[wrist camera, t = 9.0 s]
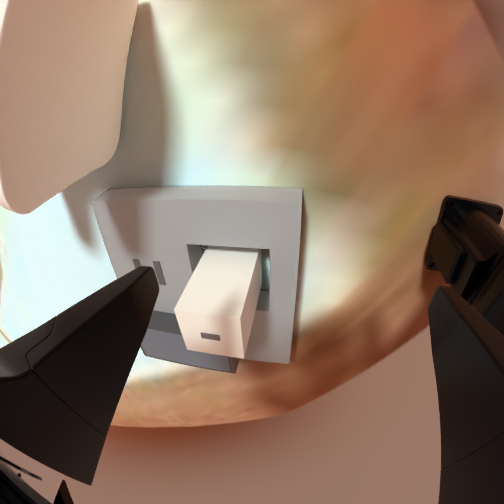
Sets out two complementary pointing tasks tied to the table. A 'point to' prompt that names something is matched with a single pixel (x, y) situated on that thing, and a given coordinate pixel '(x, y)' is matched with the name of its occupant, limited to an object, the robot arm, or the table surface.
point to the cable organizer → (59, 93)
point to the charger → (221, 301)
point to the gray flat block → (179, 346)
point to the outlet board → (209, 233)
